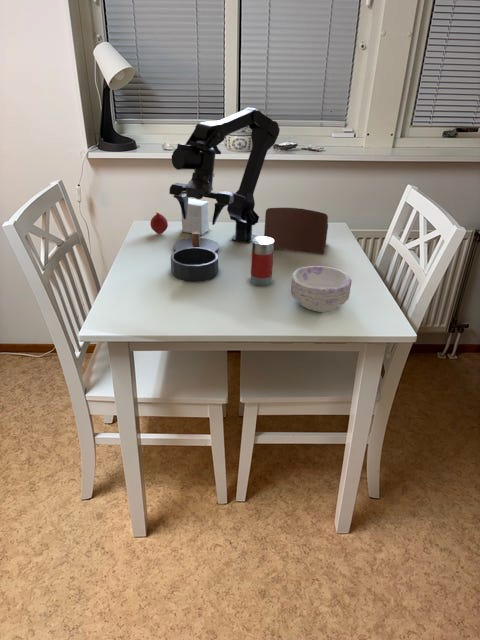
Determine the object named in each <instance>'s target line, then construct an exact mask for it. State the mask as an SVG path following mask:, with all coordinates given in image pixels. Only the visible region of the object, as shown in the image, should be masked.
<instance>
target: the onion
mask: <svg viewBox="0 0 480 640" xmlns="http://www.w3.org/2000/svg"><path fill="white" fill-rule="evenodd" d="M149 223H150V225H149V226H150V228H151V230H152V231H153V232H155V233H156V234H157V235H162V234H163V233H165V232H166V231H167V229H168V227H169V222H168V220H167V218H166V216H164V215H163V214H161V213H160V212H159V211H156V213H155V215H153V217H152V218H151V219H150V222H149Z"/></svg>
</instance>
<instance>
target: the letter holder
mask: <svg viewBox="0 0 480 640" xmlns="http://www.w3.org/2000/svg"><path fill="white" fill-rule="evenodd" d="M264 217H265V218H264V235H263V237H269V238H272V239H273V240H274V250H275V249H276V250H283V251H285V250H286V251H294V252H300V253H308V254H309V253H310V254H316V255H324V253H325V249H326V246H327V245H326V244H327V238H328V237H327V236H328V229H329V221H328V219H329V216H328V214H326V213H324V212H321V211H317V210H311V209H305V208H298V207H268V208H266V210H265V216H264Z"/></svg>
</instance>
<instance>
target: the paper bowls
mask: <svg viewBox="0 0 480 640" xmlns="http://www.w3.org/2000/svg"><path fill="white" fill-rule="evenodd" d="M290 279H291V280H290V295H291V296H292V297H293V298H294V299H295V300H296V301H298V303H299V304H300V306H302V307H303V308H305V309H307V310H309V311H313V312H318V313H324V312H331V311H333V310H336V309H337V308H338V307H339V306H340V305H342V304H345V303H346V302H347V301H349V300H350V295H351V289H352V278H351V276H350V275H349V274H347V273H346V272H345V271H343V270H341V269H339V268H336V267H335V268H334V267H331V266H325V265H324V266H323V265H309V266H304V267H300V268H297V269H296V270H294V271H293V273H292V274H291V278H290Z"/></svg>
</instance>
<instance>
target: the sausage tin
mask: <svg viewBox="0 0 480 640" xmlns="http://www.w3.org/2000/svg"><path fill="white" fill-rule="evenodd" d="M274 256H275V248H274V240H273V239H272V238H269V237H264V236H255V237H254V238H253V239H252V241H251V256H250V283H251V285H253V286H256V287H267V286H270V285H271V284H272V281H273V271H274V270H273V269H274Z"/></svg>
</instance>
